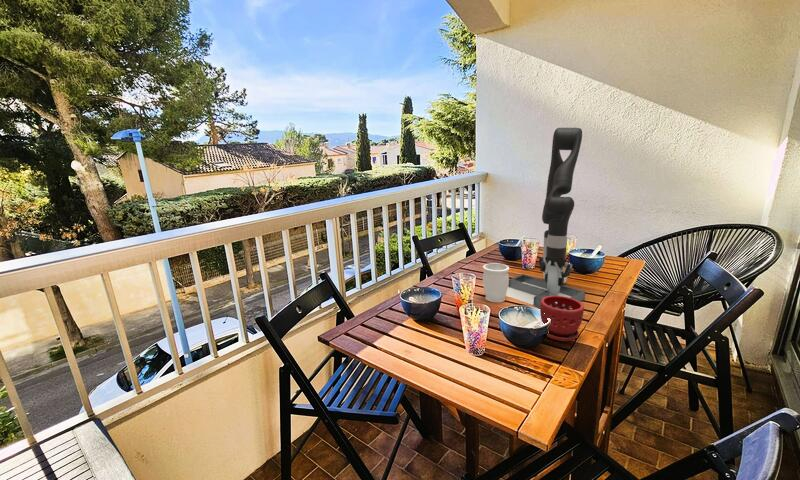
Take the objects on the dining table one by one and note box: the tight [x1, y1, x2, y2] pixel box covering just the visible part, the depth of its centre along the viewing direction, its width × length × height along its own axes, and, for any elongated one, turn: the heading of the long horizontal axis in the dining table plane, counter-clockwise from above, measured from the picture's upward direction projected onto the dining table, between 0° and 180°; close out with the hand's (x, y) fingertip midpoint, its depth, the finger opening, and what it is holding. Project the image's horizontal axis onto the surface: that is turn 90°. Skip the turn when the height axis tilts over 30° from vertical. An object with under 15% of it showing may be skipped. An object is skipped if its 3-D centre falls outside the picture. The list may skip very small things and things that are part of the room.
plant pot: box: [539, 296, 585, 342], centre depth 116 cm, size 13×13×12 cm
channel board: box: [505, 282, 584, 308], centre depth 146 cm, size 20×29×1 cm
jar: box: [482, 262, 510, 303], centre depth 144 cm, size 11×10×15 cm
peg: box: [547, 265, 561, 294], centre depth 144 cm, size 5×5×12 cm
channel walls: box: [508, 273, 586, 310], centre depth 146 cm, size 20×29×4 cm
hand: (553, 283), depth 145 cm, fingers closed on peg, 5 cm apart
